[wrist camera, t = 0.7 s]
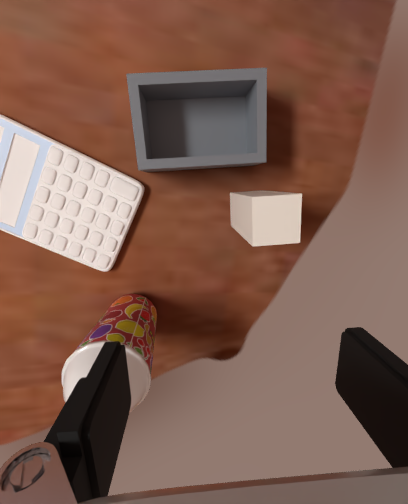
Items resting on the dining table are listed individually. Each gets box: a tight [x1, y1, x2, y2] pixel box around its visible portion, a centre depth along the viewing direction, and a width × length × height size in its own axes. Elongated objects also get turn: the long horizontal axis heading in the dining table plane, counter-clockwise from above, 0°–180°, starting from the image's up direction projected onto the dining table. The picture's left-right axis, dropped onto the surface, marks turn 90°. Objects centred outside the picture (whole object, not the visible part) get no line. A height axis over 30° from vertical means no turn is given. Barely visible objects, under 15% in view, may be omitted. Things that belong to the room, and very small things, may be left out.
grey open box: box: [127, 68, 267, 172], centre depth 29 cm, size 9×14×6 cm, turn 94°
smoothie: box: [62, 294, 157, 413], centre depth 28 cm, size 8×8×20 cm
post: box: [230, 190, 302, 246], centre depth 29 cm, size 4×4×12 cm
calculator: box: [0, 114, 144, 272], centre depth 32 cm, size 13×20×2 cm, turn 64°
